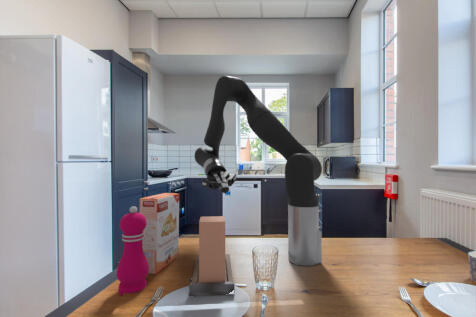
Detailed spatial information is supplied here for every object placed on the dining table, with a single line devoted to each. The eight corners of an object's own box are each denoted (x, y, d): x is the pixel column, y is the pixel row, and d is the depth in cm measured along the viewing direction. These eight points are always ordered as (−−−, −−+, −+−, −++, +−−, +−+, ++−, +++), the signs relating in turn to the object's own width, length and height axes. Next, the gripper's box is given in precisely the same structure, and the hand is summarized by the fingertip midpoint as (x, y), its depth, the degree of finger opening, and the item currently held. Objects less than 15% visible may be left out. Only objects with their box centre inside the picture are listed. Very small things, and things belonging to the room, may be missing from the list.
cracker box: (157, 277, 68) (158, 198, 68) (137, 275, 69) (137, 198, 69) (180, 257, 81) (180, 192, 82) (162, 256, 83) (162, 192, 83)
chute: (229, 260, 79) (229, 250, 79) (234, 298, 57) (234, 283, 57) (196, 261, 78) (196, 251, 78) (189, 300, 56) (189, 285, 56)
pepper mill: (155, 285, 63) (155, 204, 64) (134, 300, 56) (135, 209, 57) (131, 280, 66) (132, 203, 66) (109, 294, 59) (109, 207, 59)
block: (224, 279, 65) (224, 216, 65) (225, 291, 59) (225, 221, 59) (200, 280, 64) (200, 216, 64) (199, 292, 58) (199, 222, 58)
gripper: (196, 164, 95) (204, 184, 79) (230, 158, 98) (244, 176, 82) (199, 182, 97) (207, 205, 82) (232, 175, 101) (246, 196, 85)
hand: (225, 190), depth 82 cm, fingers closed
